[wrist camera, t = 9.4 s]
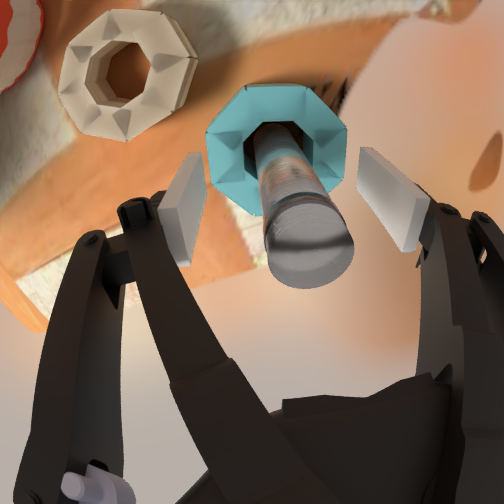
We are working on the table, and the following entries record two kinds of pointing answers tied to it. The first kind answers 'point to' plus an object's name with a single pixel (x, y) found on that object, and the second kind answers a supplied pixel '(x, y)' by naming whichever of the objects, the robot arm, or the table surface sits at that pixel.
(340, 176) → the bead teal
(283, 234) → the capped vial
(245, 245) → the table surface
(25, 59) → the toy
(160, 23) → the bead birch
